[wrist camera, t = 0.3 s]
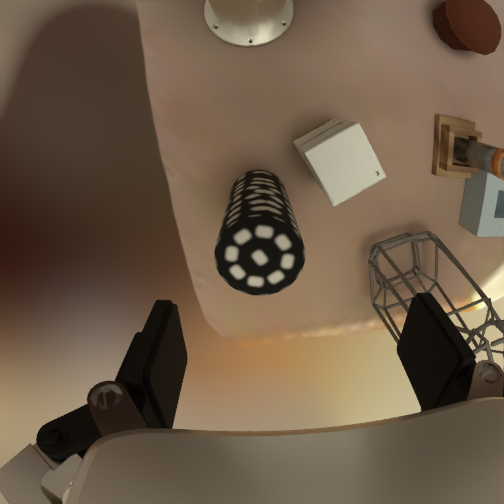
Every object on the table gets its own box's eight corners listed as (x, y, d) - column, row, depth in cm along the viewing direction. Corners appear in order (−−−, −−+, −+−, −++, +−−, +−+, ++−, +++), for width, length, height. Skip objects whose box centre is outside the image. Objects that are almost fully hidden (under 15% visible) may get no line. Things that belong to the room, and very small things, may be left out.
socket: (467, 160, 42) (488, 168, 37) (508, 166, 42) (528, 174, 36) (459, 223, 47) (476, 236, 42) (499, 223, 47) (516, 235, 41)
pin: (448, 134, 39) (504, 149, 26) (466, 137, 39) (522, 154, 26) (446, 159, 41) (500, 181, 28) (464, 161, 41) (518, 184, 28)
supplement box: (333, 116, 41) (361, 120, 29) (356, 159, 43) (388, 178, 32) (290, 140, 42) (302, 152, 31) (315, 182, 45) (334, 209, 34)
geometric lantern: (428, 208, 46) (571, 342, 15) (430, 281, 53) (524, 420, 22) (346, 233, 48) (452, 418, 17) (358, 306, 55) (425, 474, 24)
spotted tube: (296, 202, 47) (321, 266, 29) (252, 232, 49) (250, 309, 31) (264, 158, 44) (270, 195, 26) (219, 191, 46) (195, 248, 28)
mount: (434, 114, 39) (447, 116, 36) (470, 121, 39) (483, 124, 35) (431, 173, 43) (444, 179, 40) (466, 176, 43) (479, 182, 40)
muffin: (457, -5, 28) (489, -17, 19) (485, 48, 32) (521, 46, 23) (413, 5, 31) (444, -10, 22) (445, 64, 35) (481, 60, 26)
